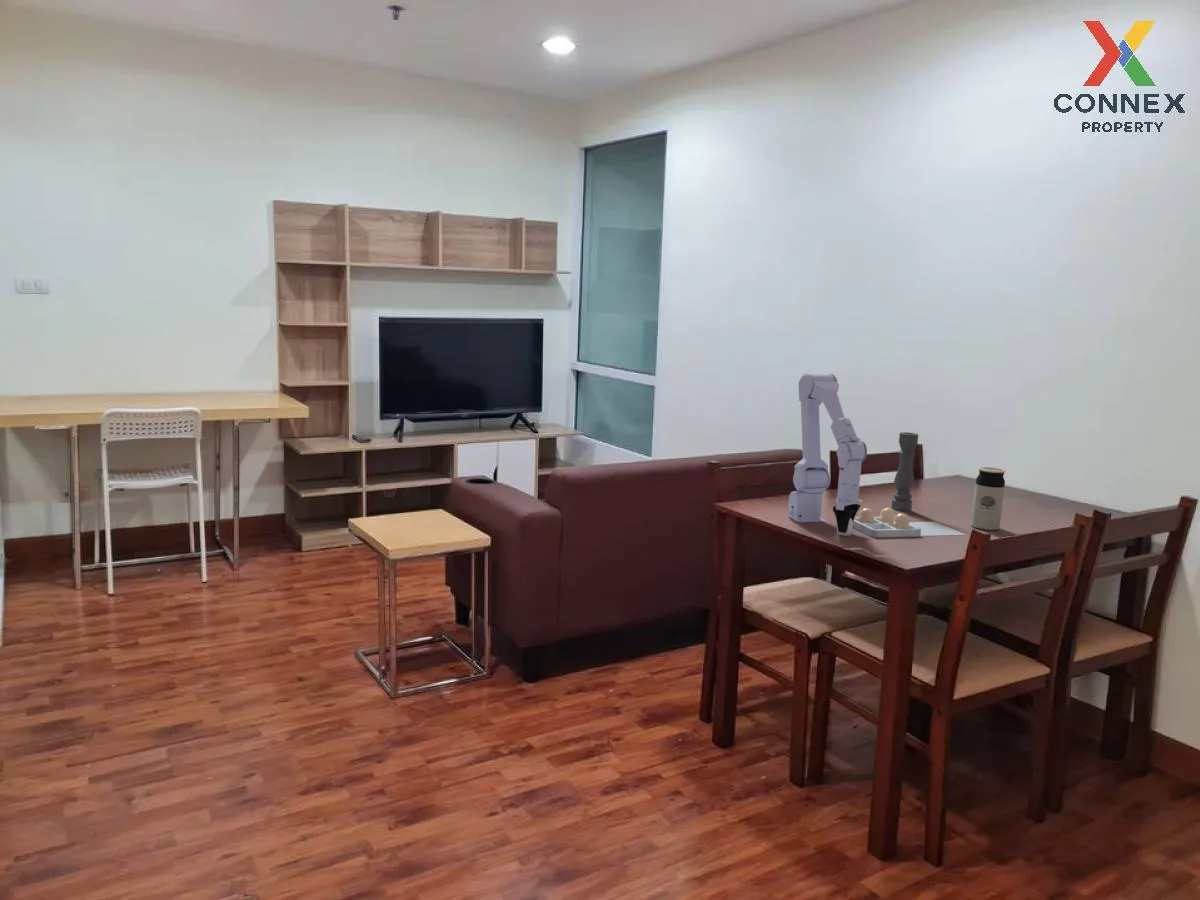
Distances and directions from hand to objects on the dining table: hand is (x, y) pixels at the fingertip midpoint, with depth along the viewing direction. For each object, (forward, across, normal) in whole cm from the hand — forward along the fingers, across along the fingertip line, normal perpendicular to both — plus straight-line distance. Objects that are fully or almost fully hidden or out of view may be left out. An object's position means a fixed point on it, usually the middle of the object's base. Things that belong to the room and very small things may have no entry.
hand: (844, 530), depth 256 cm
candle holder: (+2, +45, -6) cm, 46 cm away
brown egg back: (+1, +12, -13) cm, 17 cm away
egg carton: (+1, +17, -13) cm, 22 cm away
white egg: (+1, 0, 0) cm, 1 cm away
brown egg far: (+1, +17, -8) cm, 19 cm away
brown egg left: (+1, +12, -3) cm, 12 cm away
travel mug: (+2, +39, -32) cm, 50 cm away
